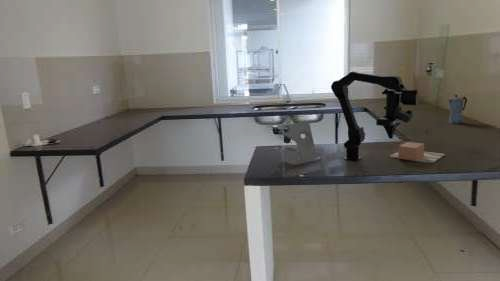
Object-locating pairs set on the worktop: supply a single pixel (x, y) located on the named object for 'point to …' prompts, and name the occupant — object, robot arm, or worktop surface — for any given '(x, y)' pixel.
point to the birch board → (424, 157)
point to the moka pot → (456, 109)
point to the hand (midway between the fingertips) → (390, 138)
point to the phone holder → (300, 144)
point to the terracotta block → (411, 151)
